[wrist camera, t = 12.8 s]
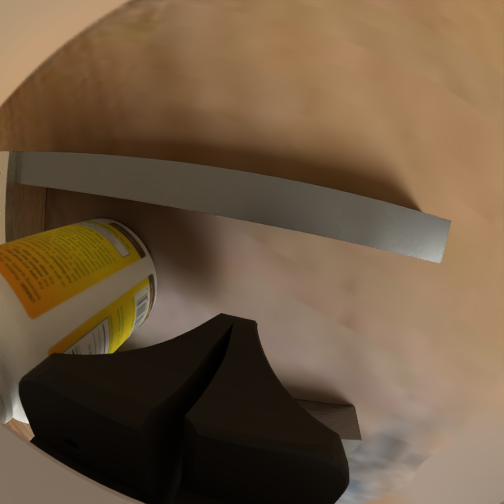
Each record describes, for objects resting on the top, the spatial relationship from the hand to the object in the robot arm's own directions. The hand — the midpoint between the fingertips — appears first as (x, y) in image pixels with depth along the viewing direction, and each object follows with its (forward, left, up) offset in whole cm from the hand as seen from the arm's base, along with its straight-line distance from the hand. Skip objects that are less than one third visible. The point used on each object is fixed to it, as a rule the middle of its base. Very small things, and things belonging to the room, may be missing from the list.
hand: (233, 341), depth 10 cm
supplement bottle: (0, +7, -3) cm, 7 cm away
